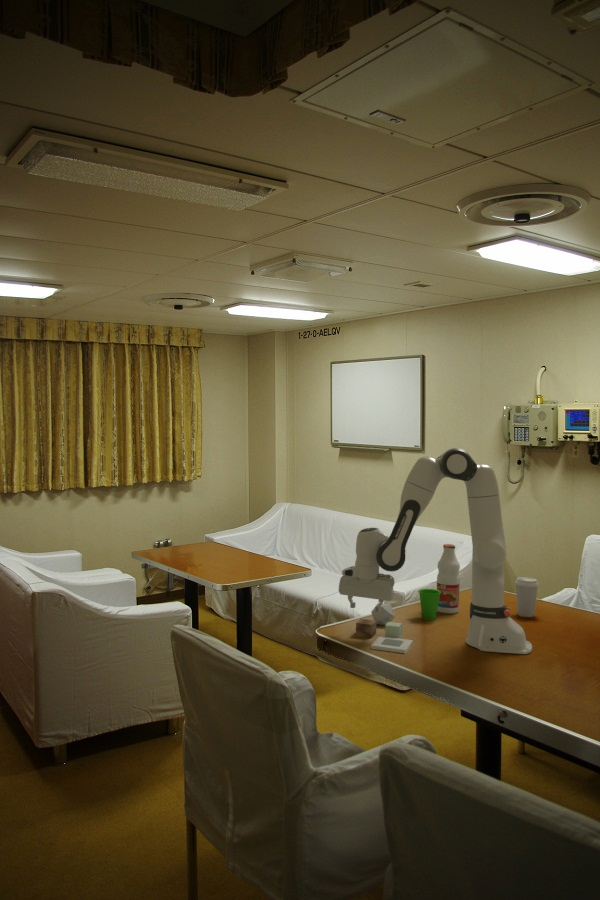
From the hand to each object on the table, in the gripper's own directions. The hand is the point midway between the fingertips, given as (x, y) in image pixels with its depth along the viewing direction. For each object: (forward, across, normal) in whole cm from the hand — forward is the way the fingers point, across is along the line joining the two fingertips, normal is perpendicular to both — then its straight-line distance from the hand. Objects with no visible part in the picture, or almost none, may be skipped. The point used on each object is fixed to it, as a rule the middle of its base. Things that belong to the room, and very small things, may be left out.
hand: (365, 609), depth 247 cm
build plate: (+9, -13, +9) cm, 18 cm away
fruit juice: (+9, -23, -48) cm, 54 cm away
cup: (+9, -18, -33) cm, 39 cm away
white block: (+9, -3, -17) cm, 20 cm away
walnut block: (+10, -1, 0) cm, 10 cm away
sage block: (+9, -11, -1) cm, 14 cm away
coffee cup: (+8, -54, -56) cm, 78 cm away
